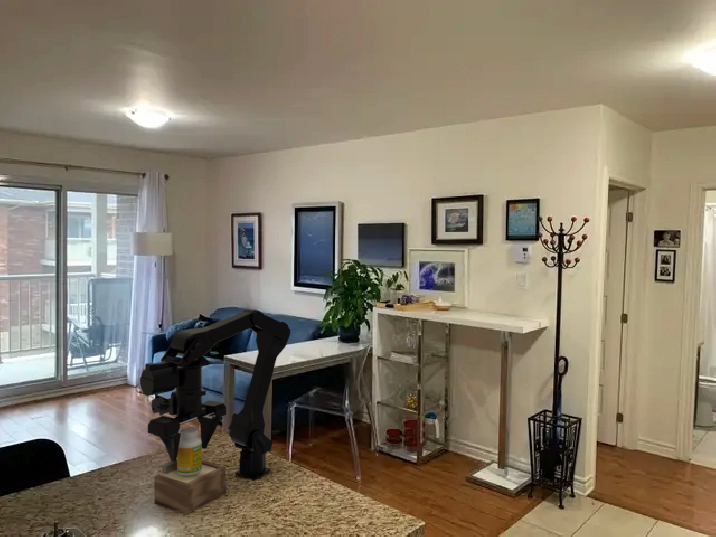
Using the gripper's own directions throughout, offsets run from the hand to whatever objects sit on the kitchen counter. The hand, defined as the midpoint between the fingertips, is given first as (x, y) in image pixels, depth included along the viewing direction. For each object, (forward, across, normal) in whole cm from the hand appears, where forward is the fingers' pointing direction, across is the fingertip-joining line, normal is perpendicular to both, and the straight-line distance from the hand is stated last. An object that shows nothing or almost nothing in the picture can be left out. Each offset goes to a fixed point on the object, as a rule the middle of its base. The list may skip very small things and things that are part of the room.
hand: (189, 454), depth 126 cm
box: (+10, 0, 0) cm, 10 cm away
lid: (+5, 0, 0) cm, 5 cm away
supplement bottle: (+4, 0, 0) cm, 4 cm away
